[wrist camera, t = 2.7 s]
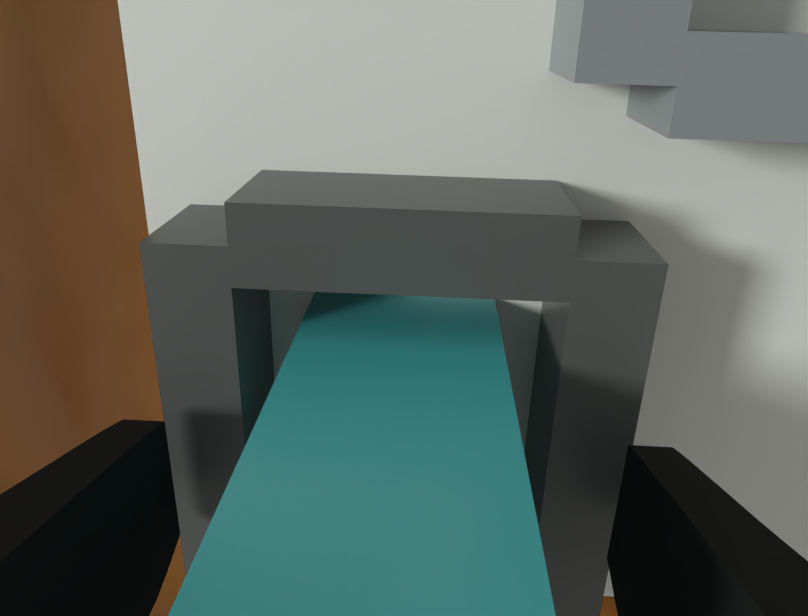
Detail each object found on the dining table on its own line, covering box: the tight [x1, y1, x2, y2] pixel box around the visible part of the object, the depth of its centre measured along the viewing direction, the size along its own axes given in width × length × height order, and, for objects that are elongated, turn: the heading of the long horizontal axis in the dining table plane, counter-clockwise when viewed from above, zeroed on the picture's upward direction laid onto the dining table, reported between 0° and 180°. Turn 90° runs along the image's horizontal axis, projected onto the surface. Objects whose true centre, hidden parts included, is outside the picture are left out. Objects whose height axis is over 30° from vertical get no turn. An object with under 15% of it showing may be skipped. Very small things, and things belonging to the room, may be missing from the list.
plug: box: [168, 292, 556, 616], centre depth 9 cm, size 4×3×7 cm
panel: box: [118, 0, 808, 616], centre depth 9 cm, size 18×14×3 cm
